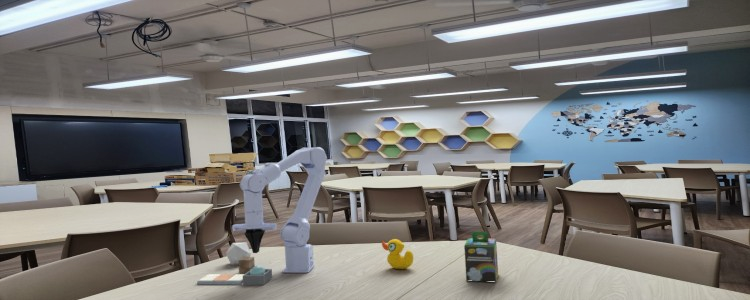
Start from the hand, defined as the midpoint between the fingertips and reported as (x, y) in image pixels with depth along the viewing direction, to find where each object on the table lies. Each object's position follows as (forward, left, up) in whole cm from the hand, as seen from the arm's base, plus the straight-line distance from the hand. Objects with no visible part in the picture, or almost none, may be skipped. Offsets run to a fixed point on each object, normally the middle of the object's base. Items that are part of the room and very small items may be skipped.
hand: (256, 252), depth 143 cm
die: (+16, -20, -10) cm, 27 cm away
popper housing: (0, +1, -9) cm, 9 cm away
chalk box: (-72, -3, -10) cm, 73 cm away
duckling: (-45, -13, -10) cm, 48 cm away
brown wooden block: (+8, -9, -10) cm, 15 cm away
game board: (+12, 0, -9) cm, 15 cm away
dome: (0, 0, -9) cm, 9 cm away
